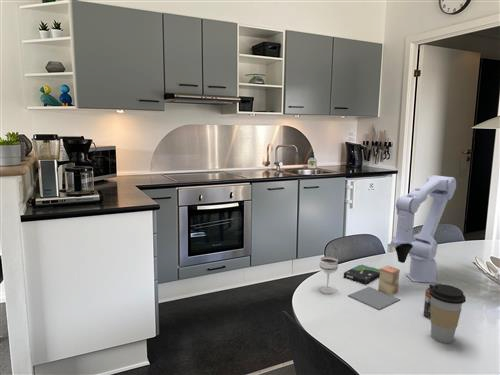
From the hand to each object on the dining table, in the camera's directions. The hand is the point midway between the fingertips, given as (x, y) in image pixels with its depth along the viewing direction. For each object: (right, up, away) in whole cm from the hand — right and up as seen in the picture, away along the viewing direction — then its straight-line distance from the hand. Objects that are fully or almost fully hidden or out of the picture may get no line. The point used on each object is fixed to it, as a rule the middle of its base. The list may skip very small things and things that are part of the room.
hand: (401, 261), depth 145 cm
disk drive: (-11, -9, +11) cm, 18 cm away
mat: (-14, -11, -9) cm, 20 cm away
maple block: (-6, -11, -3) cm, 13 cm away
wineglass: (-29, -10, -3) cm, 31 cm away
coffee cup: (-2, -16, -34) cm, 37 cm away
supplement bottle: (+2, -14, -21) cm, 25 cm away
